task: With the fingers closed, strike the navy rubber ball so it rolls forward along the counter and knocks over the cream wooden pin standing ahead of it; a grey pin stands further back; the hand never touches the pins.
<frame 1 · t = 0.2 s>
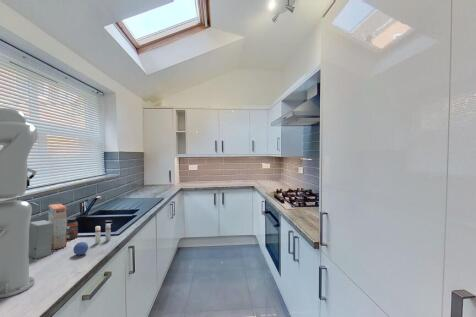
hand: (13, 188, 119), 31 cm above the counter, tool pointing down, fingers open, 9 cm apart
grey pin: (108, 240, 134), on the counter
cracker box: (57, 245, 127), on the counter
ball: (80, 248, 115), on the counter
skincare box: (40, 255, 115), on the counter
supplement bottle: (71, 238, 137), on the counter
cream pin: (97, 243, 130), on the counter
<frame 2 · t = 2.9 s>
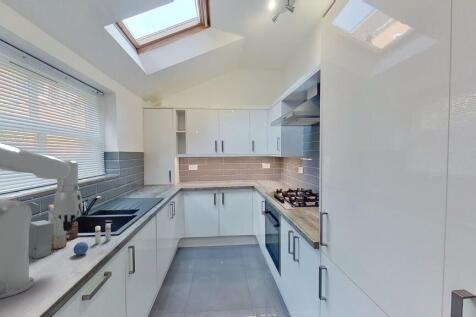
hand: (67, 229, 106), 15 cm above the counter, tool pointing down, fingers closed
nothing on the counter moved.
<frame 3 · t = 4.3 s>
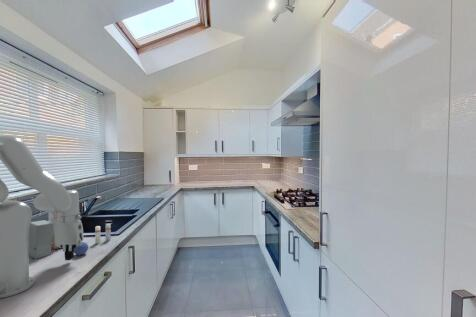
hand: (69, 258, 107), 2 cm above the counter, tool pointing down, fingers closed
nothing on the counter moved.
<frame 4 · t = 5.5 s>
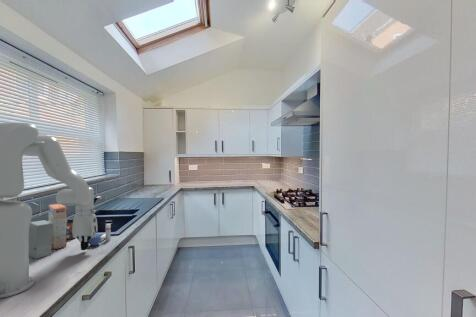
hand: (84, 249, 118), 2 cm above the counter, tool pointing down, fingers closed
ball: (94, 239, 127), on the counter
cream pin: (99, 239, 132), point 1 cm above the counter, tilted 89°
everything else where it was.
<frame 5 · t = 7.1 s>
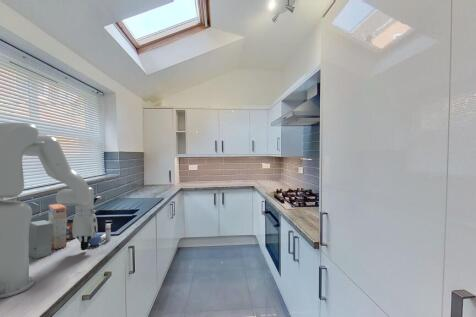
hand: (84, 249, 118), 2 cm above the counter, tool pointing down, fingers closed
cream pin: (99, 239, 132), point 1 cm above the counter, tilted 90°
everything else where it was.
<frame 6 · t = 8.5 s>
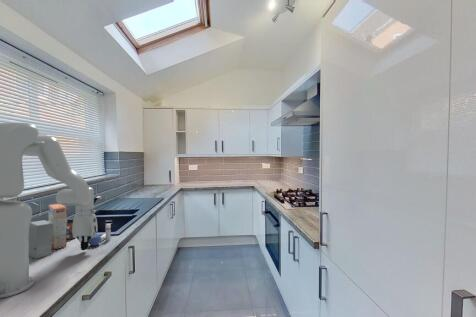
hand: (84, 249, 118), 2 cm above the counter, tool pointing down, fingers closed
nothing on the counter moved.
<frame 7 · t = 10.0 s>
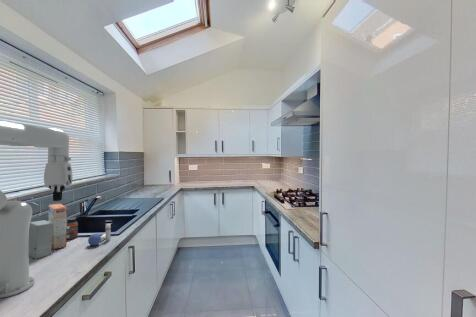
hand: (57, 200, 108), 28 cm above the counter, tool pointing down, fingers closed
nothing on the counter moved.
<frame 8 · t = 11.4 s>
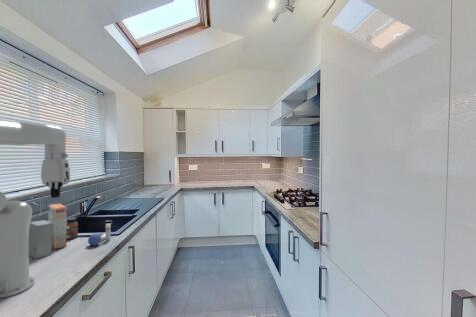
hand: (55, 197, 108), 29 cm above the counter, tool pointing down, fingers closed
nothing on the counter moved.
at the end: cream pin tilted 90°; cream pin never touched the robot; ball moved 12.0 cm from its start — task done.
